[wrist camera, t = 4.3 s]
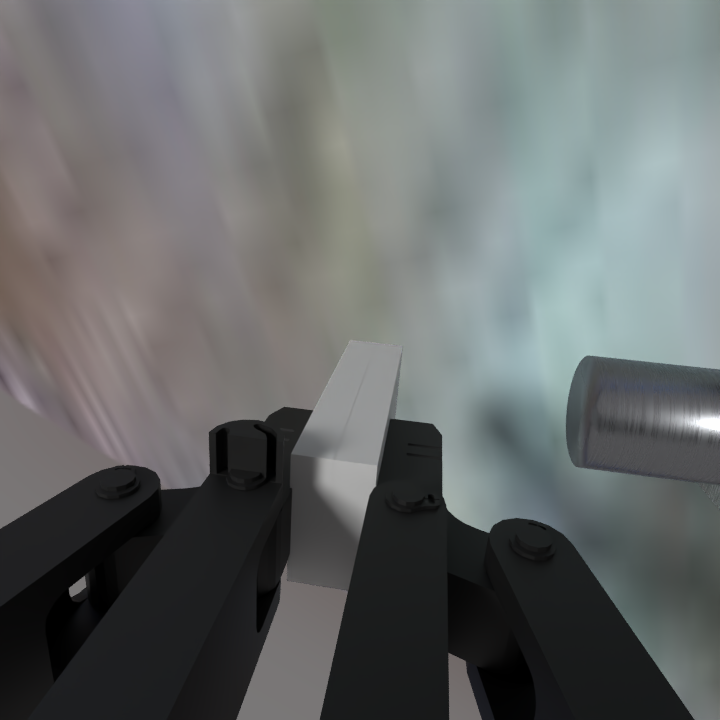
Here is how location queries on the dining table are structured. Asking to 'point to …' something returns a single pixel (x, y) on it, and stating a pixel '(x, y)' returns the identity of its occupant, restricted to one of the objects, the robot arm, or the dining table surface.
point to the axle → (645, 419)
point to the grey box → (712, 492)
